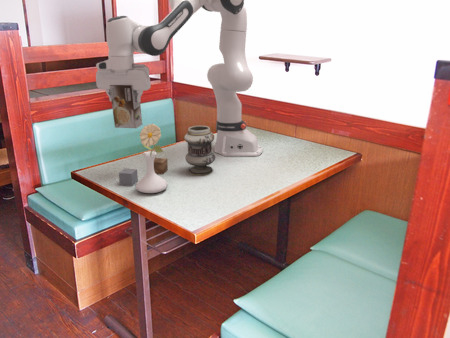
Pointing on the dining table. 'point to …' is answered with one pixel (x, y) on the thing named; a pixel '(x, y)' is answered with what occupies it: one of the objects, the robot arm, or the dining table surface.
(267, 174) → the dining table surface
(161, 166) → the walnut block
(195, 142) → the apothecary jar
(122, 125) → the coffee box
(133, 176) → the slate grey block
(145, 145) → the flower in vase
